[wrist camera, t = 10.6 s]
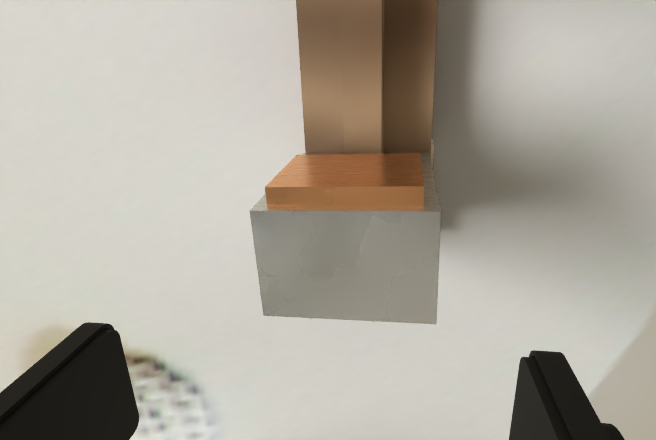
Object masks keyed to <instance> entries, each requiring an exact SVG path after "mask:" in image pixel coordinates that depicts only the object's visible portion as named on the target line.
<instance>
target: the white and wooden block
mask: <svg viewBox="0 0 656 440" xmlns="http://www.w3.org/2000/svg"><path fill="white" fill-rule="evenodd" d="M265 192H266V194H265V195H264V196H263V197H262V198H261V199H260V200H259V201H258V202H257V204H256V205H255V206H254V207H253V208H252V209H251V210H250V217H251V224H252V232H253V239H254V247H255V254H256V262H257V269H258V277H259V284H260V292H261V299H262V307H263V314H264V316H283V317H303V318H323V319H343V320H363V321H383V322H404V323H424V324H436V321H437V297H438V272H439V248H440V223H441V209H440V204H439V199H438V194H437V189H436V184H435V179H434V174H433V169H432V164H431V159H430V154H429V151H404V152H390V153H378V154H340V153H304V154H303V155H296V156H295V157H294V158H293V159H292V160H291V161H290V162H289V163H288V164H287V165H286V166H285V167H284V168H283V169H282V170H281V171H280V172H279V173H278V174H277V175H276V176H275V177H274V179H273V180H272V181H271V182H270V183H269V184H268V185H267V186H266V187H265Z"/></svg>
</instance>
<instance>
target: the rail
mask: <svg viewBox="0 0 656 440" xmlns="http://www.w3.org/2000/svg"><path fill="white" fill-rule="evenodd" d="M296 6H297V22H298V38H299V54H300V70H301V86H302V102H303V118H304V134H305V150H306V153H340V154H378V153H390V152H404V151H429V154H430V159H431V164H432V169H433V161H434V143H433V139H432V118H433V96H434V75H435V53H436V32H437V10H438V0H296Z"/></svg>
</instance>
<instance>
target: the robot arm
mask: <svg viewBox="0 0 656 440" xmlns="http://www.w3.org/2000/svg"><path fill="white" fill-rule="evenodd" d="M138 422H139V413H138V409H137V405H136V401H135V397H134V393H133V388H132V384H131V380H130V376H129V372H128V368H127V364H126V360H125V355H124V351H123V347H122V343H121V339H120V335H119V333H118V332H117V331H115V330H114V328H113V326H112V325H110V324H104V323H84V324H82V325H81V326H80V327H78V328H77V329H76V330H75V331H74V332H72V333H71V334H70V335H69V336H68V337H66V338H65V339H64V340H63V341H62V342H61V343H59V344H58V345H57V346H56V347H55V348H53V349H52V350H51V351H50V352H49V353H47V354H46V355H45V356H44V357H43V358H41V359H40V360H39V361H38V362H37V363H35V364H34V365H33V366H32V367H31V368H29V369H28V370H27V371H26V372H25V373H23V374H22V375H21V376H20V377H19V378H17V379H16V380H15V381H14V382H13V383H12V384H10V385H9V386H8V387H7V388H6V389H4V390H3V391H2V392H1V393H0V440H129V439H130V438H131V436H132V435H133V434H134V432H135V430H136V429H137V426H138ZM509 440H624V438H623V436H622V435H621V433H620V432H619V431H618V429H617V428H616V427H615V426H613V425H612V424H606V423H601V422H600V420H599V418H598V416H597V415H596V413H595V411H594V409H593V407H592V405H591V404H590V402H589V400H588V398H587V396H586V394H585V393H584V391H583V389H582V387H581V385H580V384H579V382H578V380H577V378H576V376H575V374H574V373H573V371H572V369H571V367H570V365H569V363H568V362H567V360H566V358H565V356H564V355H563V354H562V353H561V352H548V351H531V353H530V355H529V357H522V358H521V359H520V364H519V372H518V379H517V386H516V393H515V400H514V407H513V414H512V422H511V429H510V436H509Z"/></svg>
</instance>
